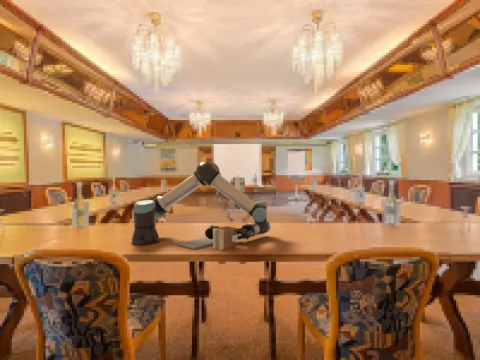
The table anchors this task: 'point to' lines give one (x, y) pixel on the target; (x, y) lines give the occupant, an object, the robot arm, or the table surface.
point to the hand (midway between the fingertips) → (223, 236)
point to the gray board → (197, 243)
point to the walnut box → (223, 237)
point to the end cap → (210, 231)
